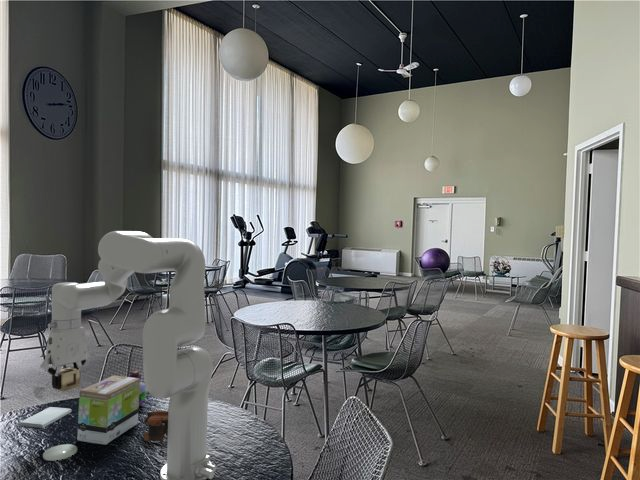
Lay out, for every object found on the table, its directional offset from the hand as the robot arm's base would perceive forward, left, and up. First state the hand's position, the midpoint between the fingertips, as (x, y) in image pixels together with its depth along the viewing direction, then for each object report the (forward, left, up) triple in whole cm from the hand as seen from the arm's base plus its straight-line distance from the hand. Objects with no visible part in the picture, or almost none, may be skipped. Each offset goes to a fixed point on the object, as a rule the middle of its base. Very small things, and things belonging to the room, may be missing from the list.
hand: (66, 384), depth 132 cm
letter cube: (0, 0, -1) cm, 1 cm away
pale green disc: (-10, +8, -14) cm, 19 cm away
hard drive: (+14, -3, -15) cm, 21 cm away
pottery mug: (-25, -13, -15) cm, 32 cm away
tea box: (-10, -7, -15) cm, 19 cm away
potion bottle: (0, -24, -15) cm, 28 cm away
